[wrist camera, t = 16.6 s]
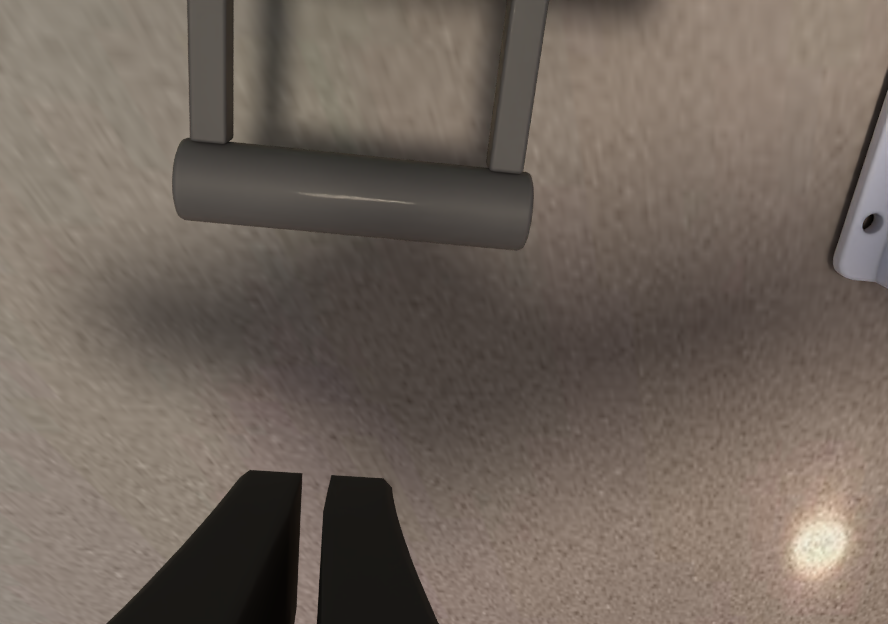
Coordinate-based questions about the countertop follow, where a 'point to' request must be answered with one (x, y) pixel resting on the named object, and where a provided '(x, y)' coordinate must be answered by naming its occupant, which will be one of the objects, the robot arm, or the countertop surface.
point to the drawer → (357, 158)
